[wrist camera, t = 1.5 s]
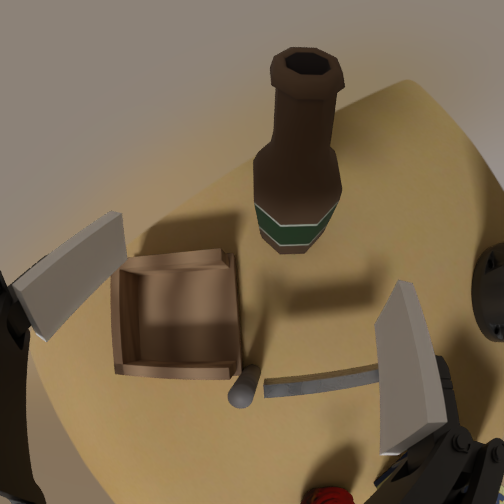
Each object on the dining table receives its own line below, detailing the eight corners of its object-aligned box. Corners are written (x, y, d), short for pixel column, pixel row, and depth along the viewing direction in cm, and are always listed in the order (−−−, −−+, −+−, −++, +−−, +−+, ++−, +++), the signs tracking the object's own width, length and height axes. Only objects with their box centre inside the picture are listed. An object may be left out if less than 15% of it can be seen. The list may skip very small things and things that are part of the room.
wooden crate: (251, 254, 33) (240, 225, 23) (261, 380, 29) (253, 408, 19) (132, 265, 34) (84, 244, 24) (137, 377, 30) (89, 394, 20)
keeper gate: (383, 361, 22) (402, 369, 18) (383, 373, 22) (402, 382, 18) (264, 378, 23) (262, 391, 19) (265, 390, 23) (263, 405, 19)
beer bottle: (249, 212, 34) (203, 46, 11) (304, 189, 34) (329, 19, 11) (274, 268, 32) (267, 143, 9) (332, 242, 32) (420, 100, 9)
